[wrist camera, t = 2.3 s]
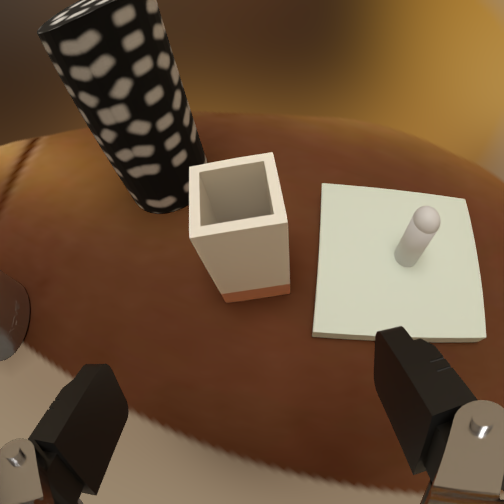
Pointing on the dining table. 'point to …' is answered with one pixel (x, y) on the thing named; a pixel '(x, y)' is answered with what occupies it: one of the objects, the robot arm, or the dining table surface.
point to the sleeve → (240, 226)
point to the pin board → (396, 266)
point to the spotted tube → (128, 95)
